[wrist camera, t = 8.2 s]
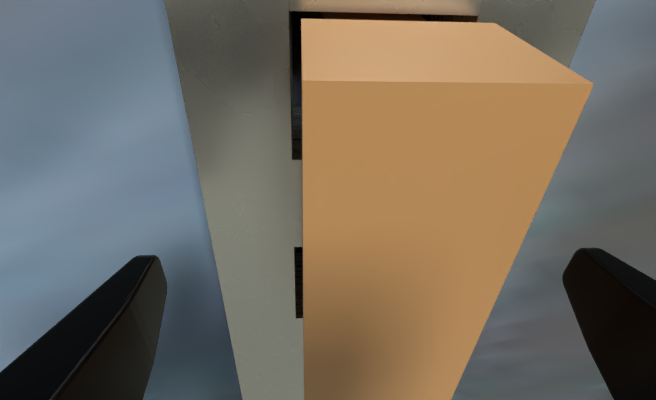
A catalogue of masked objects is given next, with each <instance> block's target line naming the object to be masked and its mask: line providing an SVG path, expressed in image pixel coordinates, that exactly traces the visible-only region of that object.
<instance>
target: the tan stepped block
mask: <svg viewBox="0 0 656 400" xmlns="http://www.w3.org/2000/svg"><path fill="white" fill-rule="evenodd" d="M301 75H302V226H303V360H304V400H451V398H452V396H453V394H454V392H455V390H456V387H457V385H458V383H459V381H460V379H461V376H462V374H463V372H464V370H465V368H466V365H467V363H468V361H469V359H470V357H471V354H472V352H473V350H474V348H475V345H476V343H477V341H478V339H479V337H480V334H481V332H482V330H483V328H484V326H485V323H486V321H487V319H488V317H489V315H490V312H491V310H492V308H493V306H494V304H495V301H496V299H497V297H498V295H499V293H500V290H501V288H502V286H503V284H504V281H505V279H506V277H507V275H508V273H509V270H510V268H511V266H512V264H513V262H514V259H515V257H516V255H517V253H518V251H519V248H520V246H521V244H522V242H523V240H524V237H525V235H526V233H527V231H528V229H529V226H530V224H531V222H532V220H533V217H534V215H535V213H536V211H537V209H538V206H539V204H540V202H541V200H542V198H543V195H544V193H545V191H546V189H547V187H548V184H549V182H550V180H551V178H552V176H553V173H554V171H555V169H556V167H557V165H558V162H559V160H560V158H561V156H562V153H563V151H564V149H565V147H566V145H567V142H568V140H569V138H570V136H571V134H572V131H573V129H574V127H575V125H576V123H577V120H578V118H579V116H580V114H581V112H582V109H583V107H584V105H585V103H586V101H587V98H588V96H589V94H590V92H591V90H592V87H593V85H594V84H593V83H591V82H590V81H588V80H587V79H585V78H583V77H582V76H580V75H578V74H577V73H575V72H574V71H572V70H570V69H569V68H567V67H566V66H564V65H562V64H561V63H559V62H557V61H556V60H554V59H553V58H551V57H549V56H548V55H546V54H544V53H543V52H541V51H540V50H538V49H536V48H535V47H533V46H532V45H530V44H528V43H527V42H525V41H523V40H522V39H520V38H519V37H517V36H515V35H514V34H512V33H510V32H509V31H507V30H506V29H504V28H502V27H501V26H499V25H498V24H496V23H476V22H432V21H426V20H425V19H424V18H423V17H422V16H421V15H420V14H394V13H354V12H322V19H301Z"/></svg>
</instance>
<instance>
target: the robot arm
mask: <svg viewBox="0 0 656 400" xmlns="http://www.w3.org/2000/svg"><path fill="white" fill-rule="evenodd" d="M563 285H564V287H565V290H566V292H567V295H568V298H569V300H570V303H571V305H572V308H573V311H574V313H575V316H576V318H577V321H578V324H579V326H580V329H581V331H582V334H583V337H584V339H585V341H586V344H587V346H588V349H589V351H590V353H591V355H592V357H593V359H594V361H595V363H596V365H597V367H598V369H599V371H600V373H601V375H602V377H603V379H604V381H605V383H606V385H607V387H608V389H609V391H610V393H611V395H612V397H613V399H614V400H656V280H654V279H652V278H651V277H649V276H647V275H645V274H644V273H642V272H640V271H638V270H637V269H635V268H633V267H631V266H630V265H628V264H626V263H625V262H623V261H621V260H619V259H618V258H616V257H614V256H612V255H611V254H609V253H607V252H605V251H604V250H602V249H599V248H580V249H578V250H577V251H576V252H575V253H574V255H573V257H572V259H571V260H570V262H569V264H568V266H567V267H566V269H565V271H564V273H563ZM166 295H167V281H166V278H165V275H164V272H163V269H162V265H161V262H160V260H159V258H158V257H157V256H155V255H139V256H136V257H134V258H132V259H131V260H130V261H129V262H128V263H127V264H125V265H124V266H123V267H122V268H121V269H120V270H119V271H117V272H116V273H115V274H114V275H113V276H112V277H110V278H109V279H108V280H107V281H106V282H105V283H103V284H102V285H101V286H100V287H99V288H98V289H96V290H95V291H94V292H93V293H92V294H91V295H89V296H88V297H87V298H86V299H85V300H84V301H83V302H81V303H80V304H79V305H78V306H77V307H76V308H74V309H73V310H72V311H71V312H70V313H69V314H67V315H66V316H65V317H64V318H63V319H62V320H60V321H59V322H58V323H57V324H56V325H55V326H53V327H52V328H51V329H50V330H49V331H48V332H47V333H45V334H44V335H43V336H42V337H41V338H40V339H38V340H37V341H36V342H35V343H34V344H33V345H31V346H30V347H29V348H28V349H27V350H26V351H24V352H23V353H22V354H21V355H20V356H19V357H17V358H16V359H15V360H14V361H13V362H12V363H11V364H9V365H8V366H7V367H6V368H5V369H4V370H2V371H1V372H0V400H142V399H143V396H144V393H145V390H146V386H147V383H148V380H149V377H150V373H151V370H152V366H153V363H154V358H155V353H156V348H157V343H158V338H159V332H160V327H161V322H162V316H163V311H164V305H165V300H166Z"/></svg>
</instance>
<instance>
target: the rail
mask: <svg viewBox="0 0 656 400" xmlns="http://www.w3.org/2000/svg"><path fill="white" fill-rule="evenodd" d="M595 1H596V0H165V5H166V10H167V15H168V20H169V26H170V31H171V36H172V41H173V46H174V51H175V56H176V61H177V67H178V72H179V77H180V82H181V87H182V92H183V97H184V102H185V108H186V113H187V118H188V123H189V128H190V133H191V138H192V143H193V148H194V154H195V159H196V164H197V169H198V174H199V179H200V184H201V189H202V195H203V200H204V205H205V210H206V215H207V220H208V225H209V230H210V236H211V241H212V246H213V251H214V256H215V261H216V266H217V271H218V277H219V282H220V287H221V292H222V297H223V302H224V307H225V312H226V317H227V323H228V328H229V333H230V338H231V343H232V348H233V353H234V358H235V364H236V369H237V374H238V379H239V384H240V389H241V394H242V399H243V400H304V360H303V253H296V247H303V226H302V107H294V105H293V52H292V11H315V12H354V13H394V14H430V20H429V21H432V22H476V23H496V24H498V25H499V26H501V27H502V28H504V29H506V30H507V31H509V32H510V33H512V34H514V35H515V36H517V37H519V38H520V39H522V40H523V41H525V42H527V43H528V44H530V45H532V46H533V47H535V48H536V49H538V50H540V51H541V52H543V53H544V54H546V55H548V56H549V57H551V58H553V59H554V60H556V61H557V62H559V63H561V64H562V65H564V66H566V67H567V68H569V66H570V63H571V61H572V58H573V56H574V53H575V51H576V48H577V46H578V43H579V41H580V39H581V36H582V34H583V31H584V29H585V26H586V24H587V21H588V19H589V16H590V14H591V11H592V9H593V6H594V4H595Z"/></svg>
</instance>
